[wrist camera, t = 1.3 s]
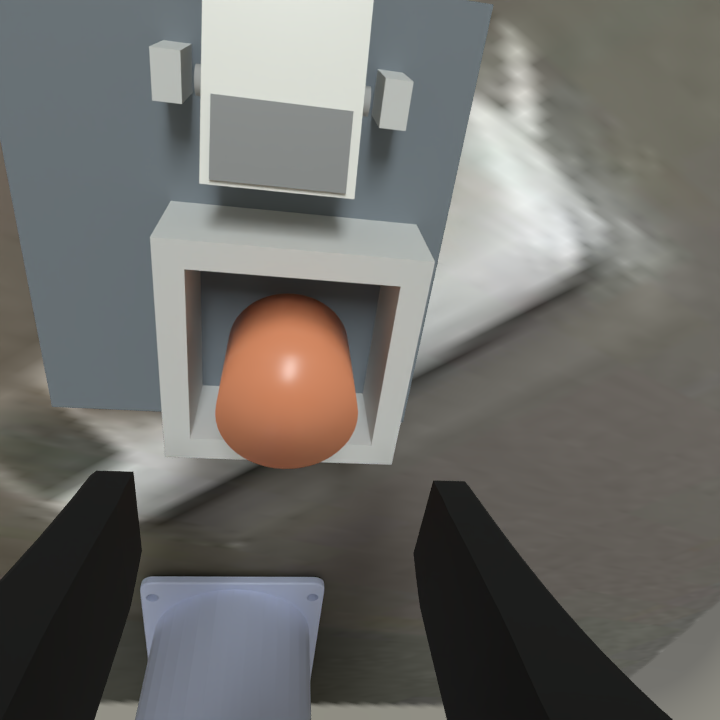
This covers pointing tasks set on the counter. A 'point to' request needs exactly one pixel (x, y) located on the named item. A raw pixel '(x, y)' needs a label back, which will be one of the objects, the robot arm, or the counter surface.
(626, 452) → the counter surface
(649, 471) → the counter surface
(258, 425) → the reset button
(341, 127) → the rocker
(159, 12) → the breaker panel
